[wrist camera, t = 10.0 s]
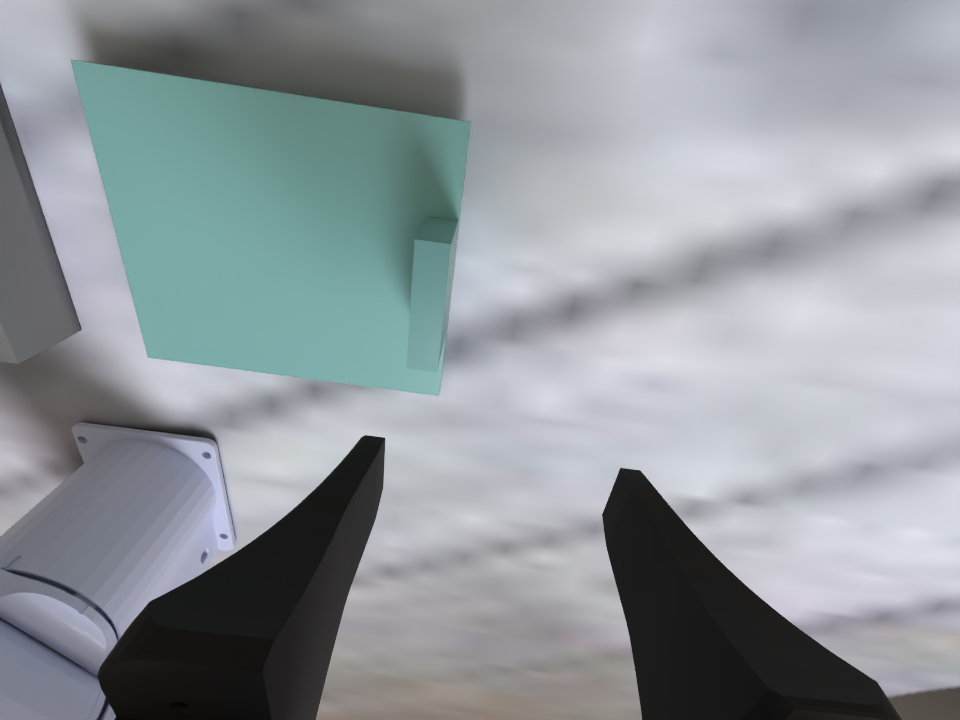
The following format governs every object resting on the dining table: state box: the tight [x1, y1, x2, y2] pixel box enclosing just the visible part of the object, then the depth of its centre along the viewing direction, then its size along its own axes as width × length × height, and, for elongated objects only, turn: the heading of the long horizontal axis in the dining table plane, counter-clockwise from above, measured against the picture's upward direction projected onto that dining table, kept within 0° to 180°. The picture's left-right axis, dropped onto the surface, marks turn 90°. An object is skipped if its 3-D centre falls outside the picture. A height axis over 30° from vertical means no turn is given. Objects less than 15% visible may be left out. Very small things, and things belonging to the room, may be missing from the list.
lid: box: [71, 60, 471, 396], centre depth 18 cm, size 12×14×5 cm
